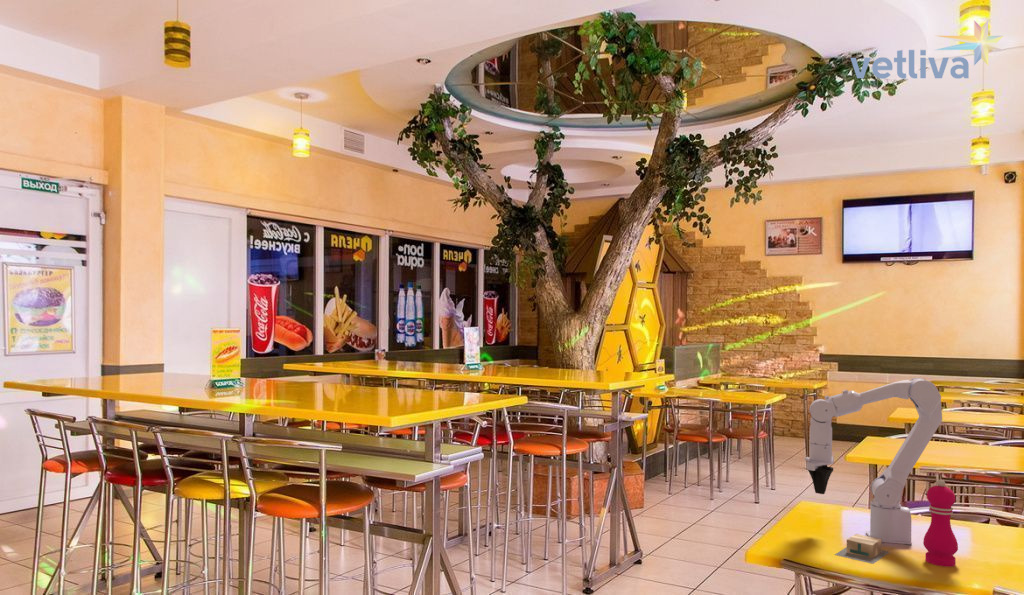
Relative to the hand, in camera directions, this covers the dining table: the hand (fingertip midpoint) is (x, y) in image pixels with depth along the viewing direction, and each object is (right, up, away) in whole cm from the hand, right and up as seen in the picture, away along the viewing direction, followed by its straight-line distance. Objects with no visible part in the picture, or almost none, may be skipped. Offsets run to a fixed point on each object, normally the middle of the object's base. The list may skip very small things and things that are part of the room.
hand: (820, 493), depth 200 cm
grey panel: (+3, -10, -19) cm, 21 cm away
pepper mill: (+19, -11, -24) cm, 32 cm away
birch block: (+1, -8, -21) cm, 22 cm away
